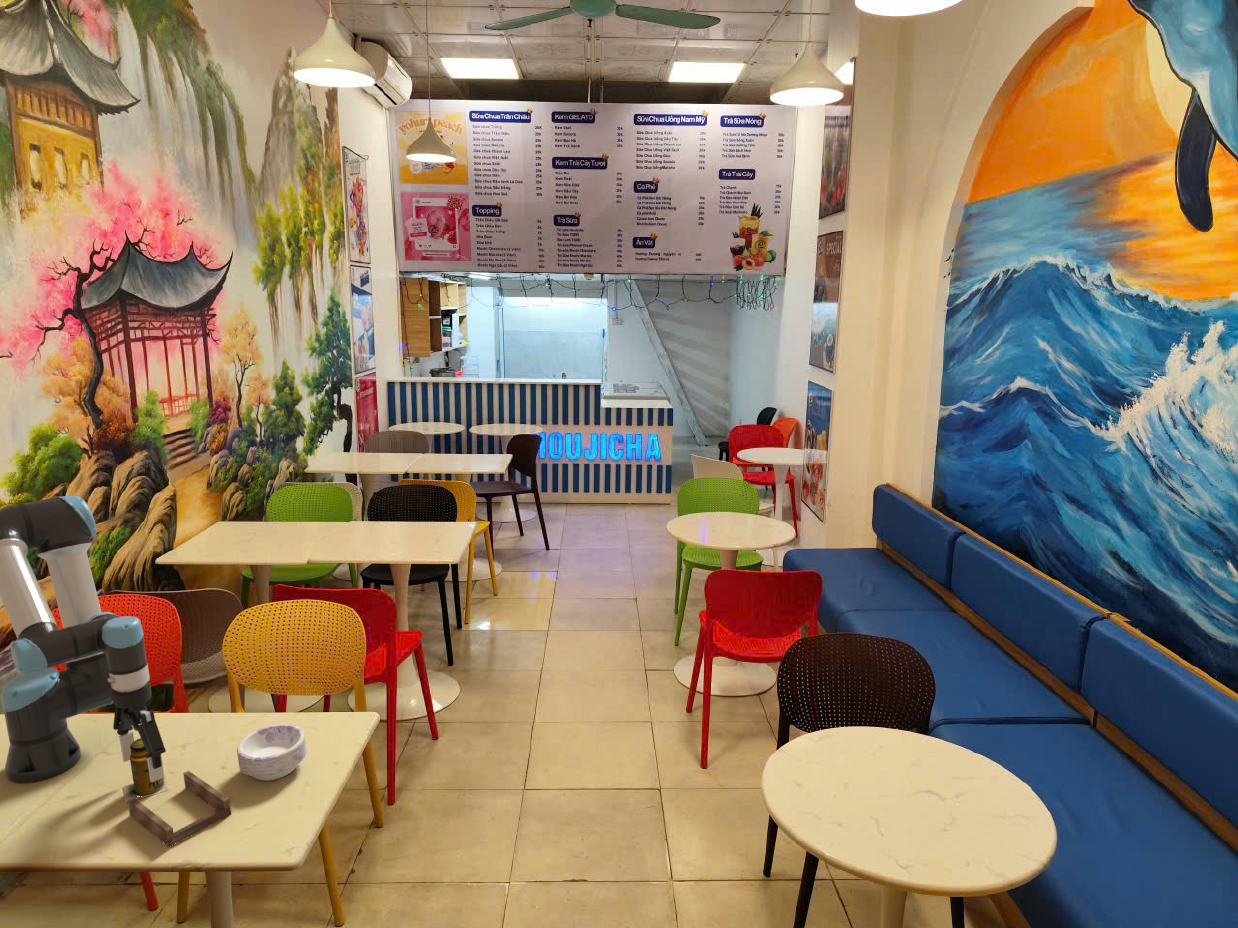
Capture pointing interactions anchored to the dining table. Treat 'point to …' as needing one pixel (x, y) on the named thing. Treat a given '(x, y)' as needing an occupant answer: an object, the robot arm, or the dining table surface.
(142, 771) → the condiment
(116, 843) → the dining table surface
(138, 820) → the walnut shelf lane
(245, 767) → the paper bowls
